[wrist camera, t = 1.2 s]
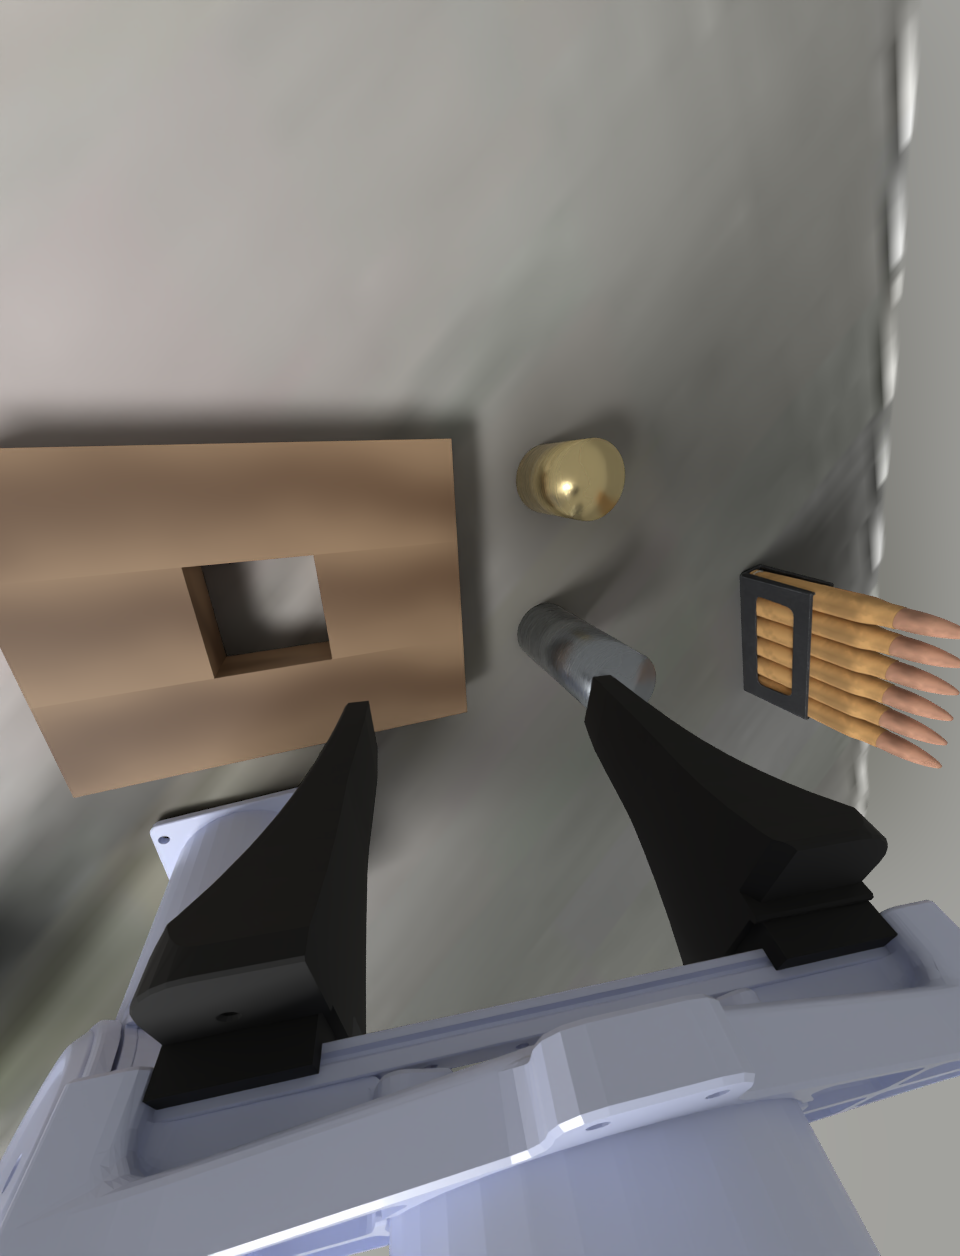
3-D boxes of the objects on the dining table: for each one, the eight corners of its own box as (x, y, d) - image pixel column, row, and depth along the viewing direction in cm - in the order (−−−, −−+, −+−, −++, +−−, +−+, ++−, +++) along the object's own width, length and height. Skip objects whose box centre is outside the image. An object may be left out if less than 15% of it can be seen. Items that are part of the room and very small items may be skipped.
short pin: (573, 510, 24) (621, 518, 20) (516, 515, 23) (555, 523, 19) (576, 443, 23) (628, 437, 19) (515, 444, 22) (557, 438, 18)
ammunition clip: (739, 573, 30) (963, 627, 20) (759, 563, 31) (989, 611, 20) (743, 690, 35) (927, 786, 24) (761, 681, 35) (949, 771, 25)
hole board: (455, 691, 26) (467, 712, 24) (100, 762, 21) (73, 797, 18) (438, 442, 21) (451, 438, 19) (-36, 453, 16) (-97, 450, 13)
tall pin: (567, 652, 28) (651, 714, 21) (517, 661, 27) (587, 730, 20) (570, 599, 26) (659, 646, 19) (517, 607, 25) (591, 660, 18)
